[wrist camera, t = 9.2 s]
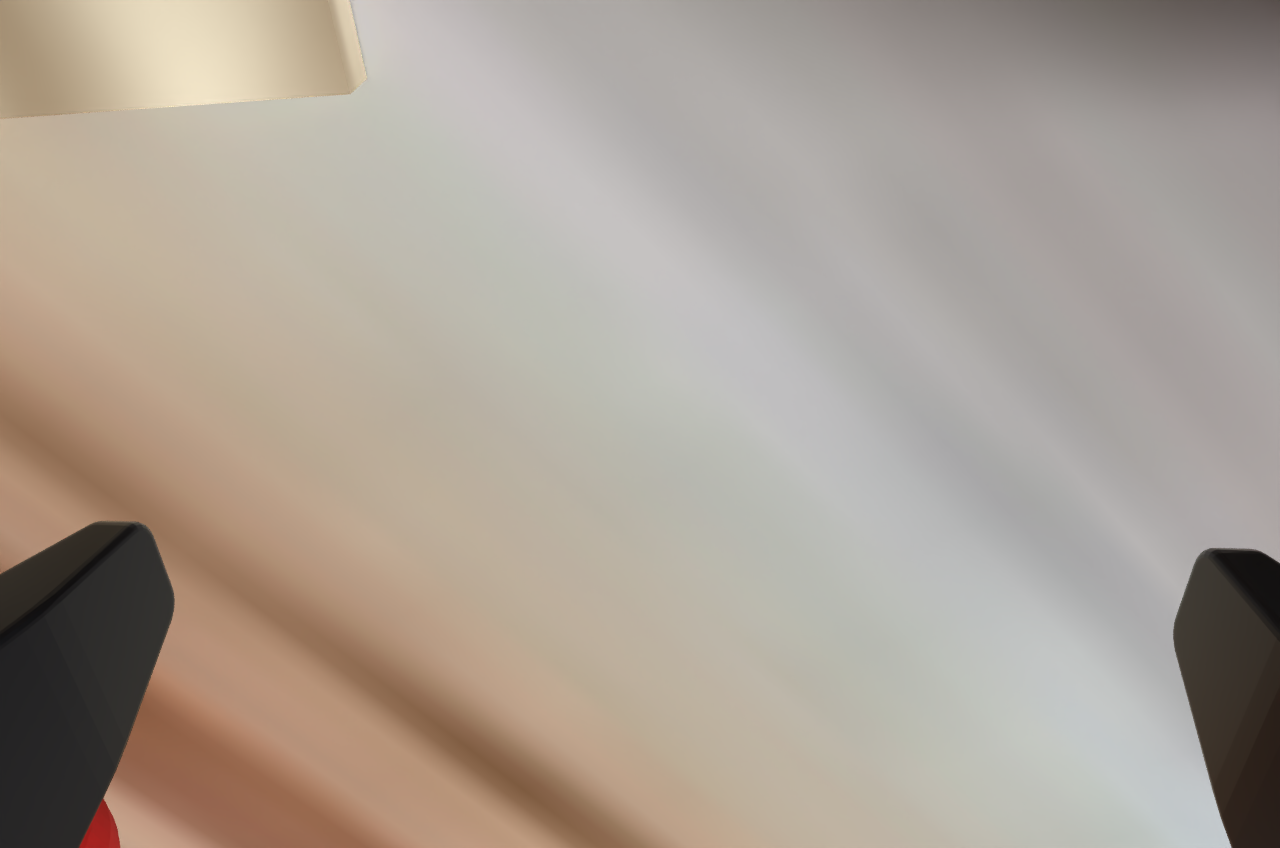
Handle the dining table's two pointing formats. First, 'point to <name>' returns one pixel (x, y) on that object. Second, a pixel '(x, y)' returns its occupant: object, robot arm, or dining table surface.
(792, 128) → the dining table surface
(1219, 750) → the robot arm
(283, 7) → the stud base
